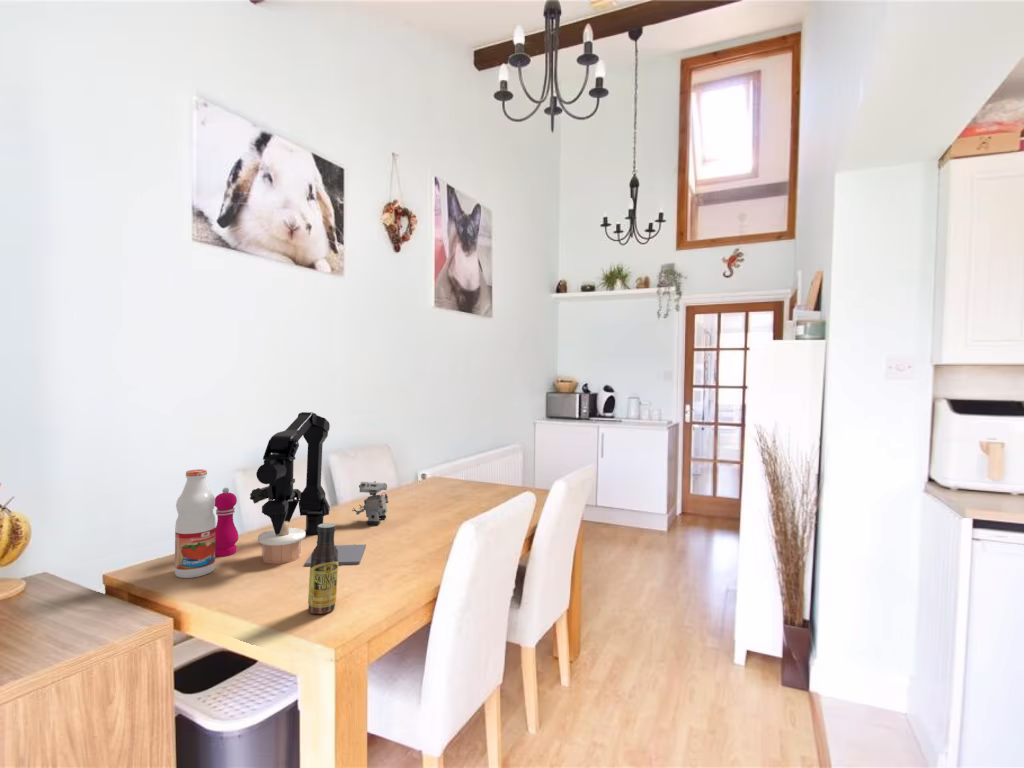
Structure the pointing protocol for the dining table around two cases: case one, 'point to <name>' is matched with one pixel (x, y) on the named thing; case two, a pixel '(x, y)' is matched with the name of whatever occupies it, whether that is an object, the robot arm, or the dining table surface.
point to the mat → (347, 554)
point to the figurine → (374, 502)
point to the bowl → (281, 553)
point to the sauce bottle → (323, 572)
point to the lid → (282, 536)
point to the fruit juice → (195, 527)
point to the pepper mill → (225, 524)
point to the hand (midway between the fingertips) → (282, 529)
